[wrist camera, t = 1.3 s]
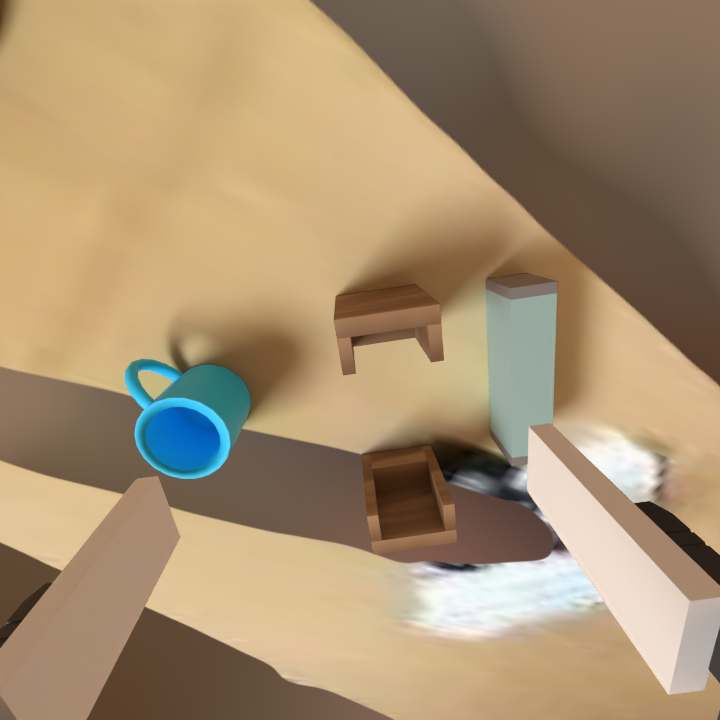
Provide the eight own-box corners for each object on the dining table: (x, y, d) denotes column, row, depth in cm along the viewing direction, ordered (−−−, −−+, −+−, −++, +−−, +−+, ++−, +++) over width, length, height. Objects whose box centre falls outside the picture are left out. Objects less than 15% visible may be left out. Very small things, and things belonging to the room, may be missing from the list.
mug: (266, 399, 42) (249, 439, 34) (218, 446, 43) (191, 494, 36) (175, 322, 38) (134, 347, 31) (127, 376, 40) (75, 412, 32)
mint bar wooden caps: (335, 296, 38) (333, 320, 29) (415, 284, 38) (439, 304, 29) (366, 486, 46) (373, 554, 36) (433, 476, 46) (457, 542, 36)
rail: (485, 278, 38) (510, 288, 33) (525, 272, 38) (557, 281, 33) (490, 435, 44) (512, 466, 39) (524, 430, 44) (551, 460, 39)
